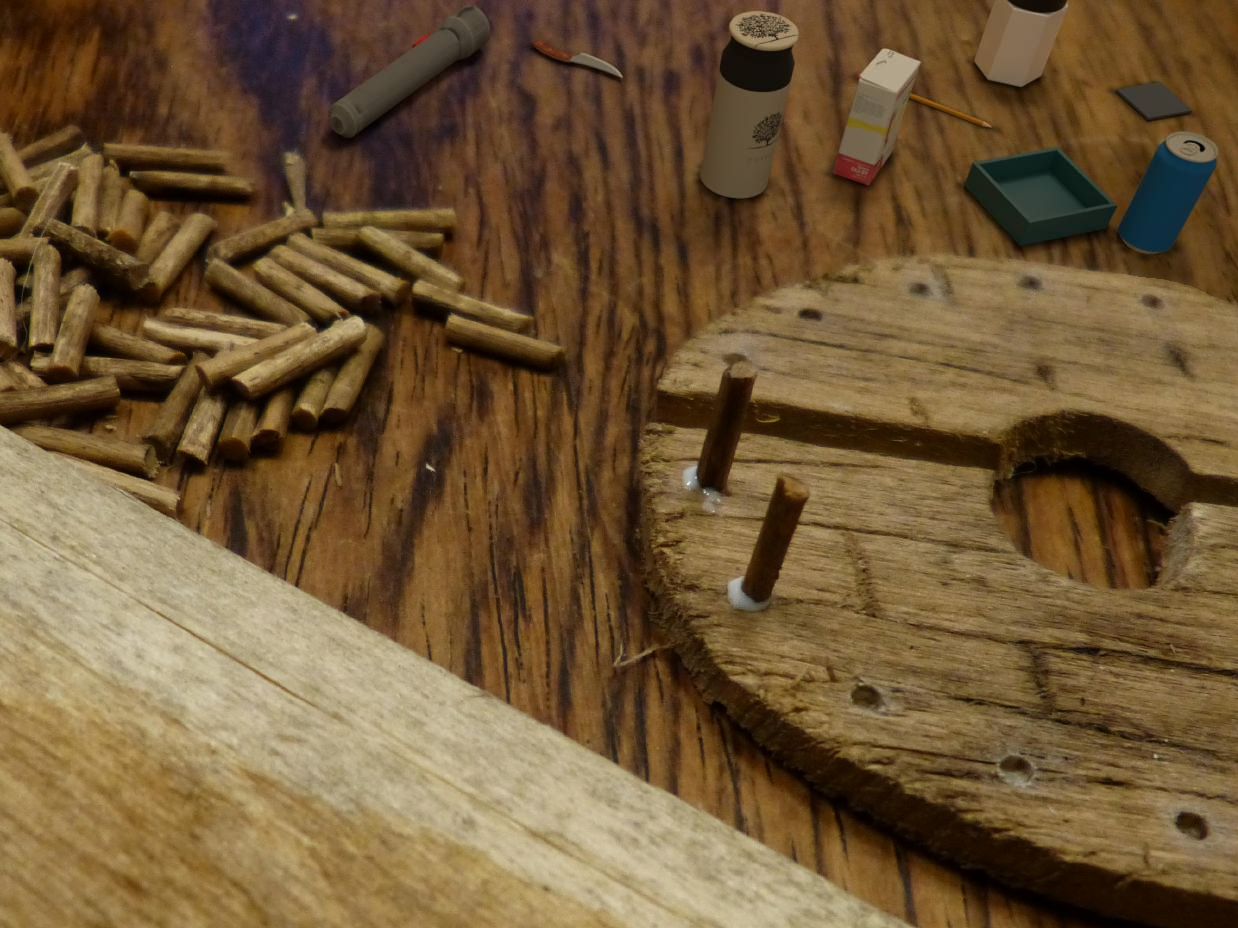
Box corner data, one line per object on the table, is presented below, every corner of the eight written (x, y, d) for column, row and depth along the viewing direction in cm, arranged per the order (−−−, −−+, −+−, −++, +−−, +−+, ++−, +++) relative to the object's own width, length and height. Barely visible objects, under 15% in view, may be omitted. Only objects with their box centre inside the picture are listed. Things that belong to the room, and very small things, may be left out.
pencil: (856, 79, 165) (858, 73, 164) (858, 77, 165) (860, 71, 165) (992, 132, 160) (994, 126, 159) (994, 130, 160) (996, 124, 159)
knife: (631, 66, 161) (622, 76, 160) (631, 70, 162) (621, 81, 160) (538, 36, 164) (528, 46, 162) (538, 40, 165) (527, 50, 163)
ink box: (868, 187, 151) (897, 92, 141) (830, 173, 152) (856, 78, 142) (893, 153, 155) (923, 59, 145) (856, 140, 156) (883, 45, 147)
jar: (1001, 45, 172) (1034, -48, 162) (1051, 72, 169) (1088, -21, 159) (961, 66, 168) (993, -28, 158) (1012, 94, 165) (1048, 0, 155)
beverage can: (1181, 243, 148) (1233, 148, 138) (1153, 265, 145) (1204, 170, 136) (1133, 217, 151) (1181, 122, 141) (1104, 238, 148) (1151, 143, 138)
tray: (1106, 228, 149) (1117, 205, 146) (1019, 246, 146) (1029, 222, 143) (1048, 170, 155) (1058, 146, 153) (963, 185, 152) (972, 162, 150)
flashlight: (346, 154, 150) (315, 123, 149) (482, 53, 164) (454, 24, 163) (359, 126, 146) (327, 93, 145) (497, 25, 159) (468, -5, 159)
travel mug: (688, 167, 151) (715, 14, 136) (748, 156, 153) (780, 5, 138) (717, 205, 147) (747, 52, 132) (778, 194, 149) (814, 42, 134)
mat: (1190, 113, 165) (1192, 110, 165) (1147, 120, 163) (1148, 117, 163) (1158, 84, 169) (1159, 81, 168) (1115, 91, 167) (1116, 88, 167)
